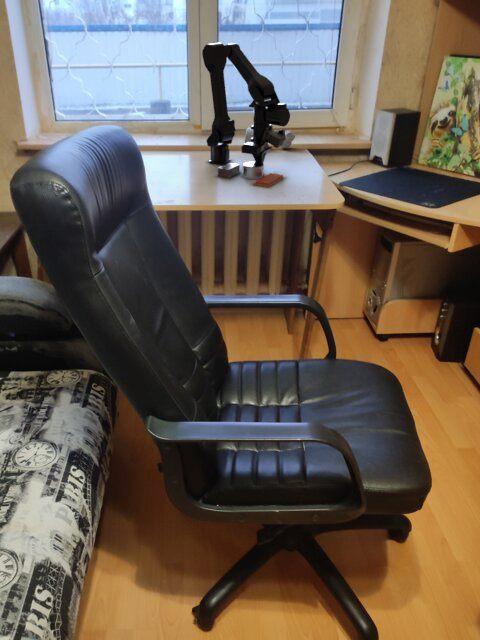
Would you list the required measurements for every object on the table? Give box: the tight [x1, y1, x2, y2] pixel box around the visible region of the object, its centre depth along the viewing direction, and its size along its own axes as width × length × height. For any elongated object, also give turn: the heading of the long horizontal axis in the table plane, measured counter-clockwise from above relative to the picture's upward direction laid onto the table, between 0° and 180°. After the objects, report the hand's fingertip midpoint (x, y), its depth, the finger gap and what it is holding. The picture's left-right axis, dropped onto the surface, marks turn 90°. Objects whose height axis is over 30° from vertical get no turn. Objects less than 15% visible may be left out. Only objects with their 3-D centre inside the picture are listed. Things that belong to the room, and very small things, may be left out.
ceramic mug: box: [244, 127, 254, 144], centre depth 228 cm, size 11×8×8 cm
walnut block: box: [217, 162, 241, 179], centre depth 198 cm, size 4×8×3 cm, turn 147°
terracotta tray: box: [253, 172, 284, 188], centre depth 192 cm, size 6×12×1 cm, turn 147°
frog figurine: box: [280, 129, 296, 150], centre depth 225 cm, size 6×7×7 cm
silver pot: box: [242, 161, 265, 180], centre depth 196 cm, size 7×7×4 cm
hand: (260, 168), depth 200 cm, fingers closed
